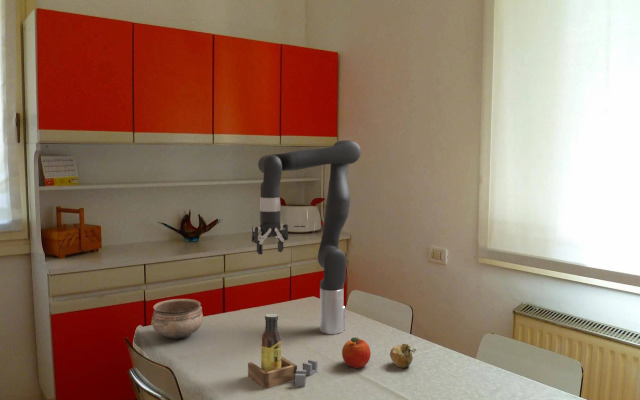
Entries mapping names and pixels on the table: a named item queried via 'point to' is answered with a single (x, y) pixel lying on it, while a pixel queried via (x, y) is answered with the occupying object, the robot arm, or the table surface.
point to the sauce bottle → (271, 345)
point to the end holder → (273, 374)
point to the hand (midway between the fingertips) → (270, 253)
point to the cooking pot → (177, 318)
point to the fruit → (356, 353)
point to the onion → (402, 355)
